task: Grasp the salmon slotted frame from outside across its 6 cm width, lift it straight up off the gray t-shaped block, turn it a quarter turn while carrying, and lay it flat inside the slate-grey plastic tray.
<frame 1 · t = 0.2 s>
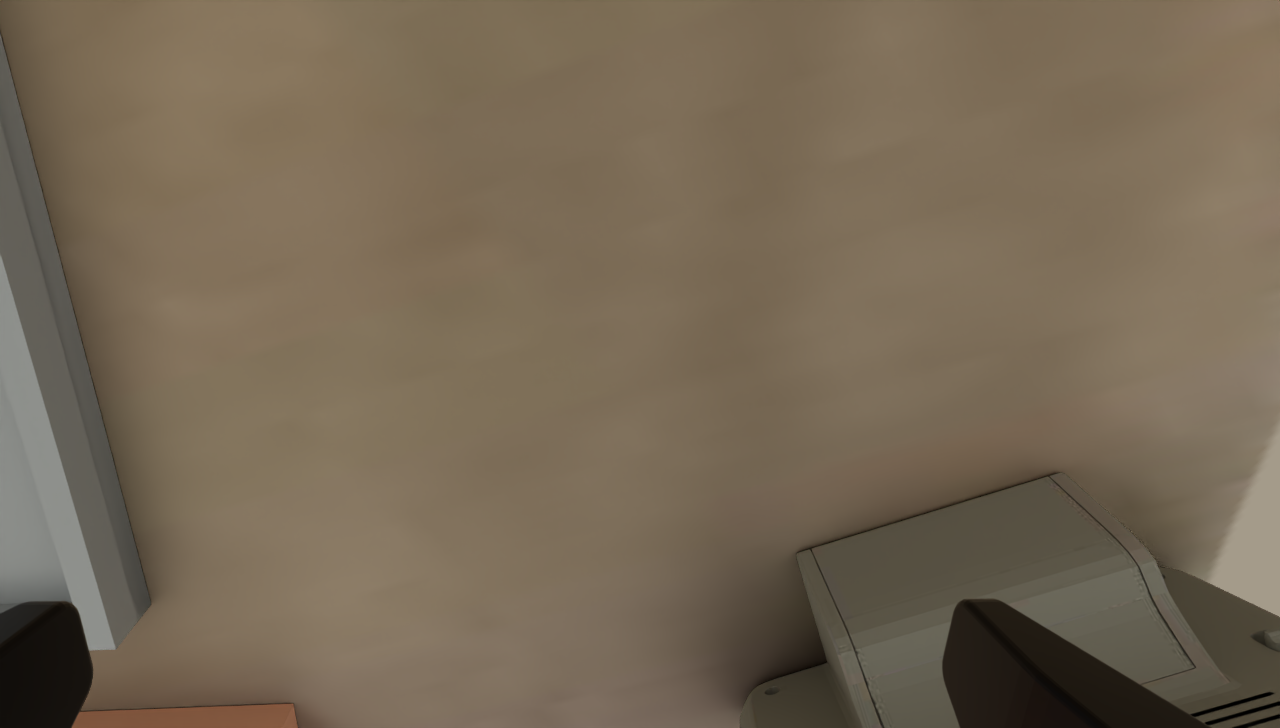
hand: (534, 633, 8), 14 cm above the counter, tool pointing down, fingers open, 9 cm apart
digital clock: (943, 604, 27), on the counter
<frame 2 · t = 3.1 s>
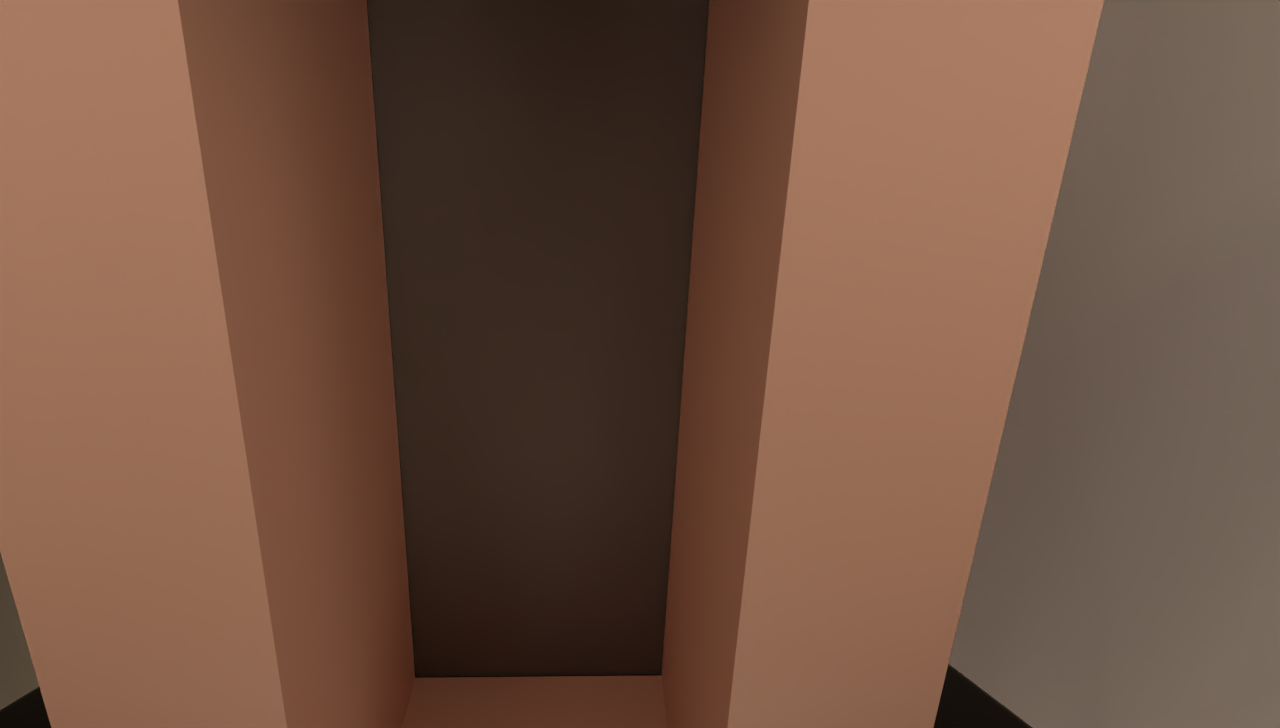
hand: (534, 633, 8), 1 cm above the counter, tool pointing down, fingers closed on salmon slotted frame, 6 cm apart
salmon slotted frame: (540, 124, 7), on the counter, touching gripper
when the fingers open (3 cm above the counter, at t = 7.7 s): salmon slotted frame stays where it is, resting on tray.
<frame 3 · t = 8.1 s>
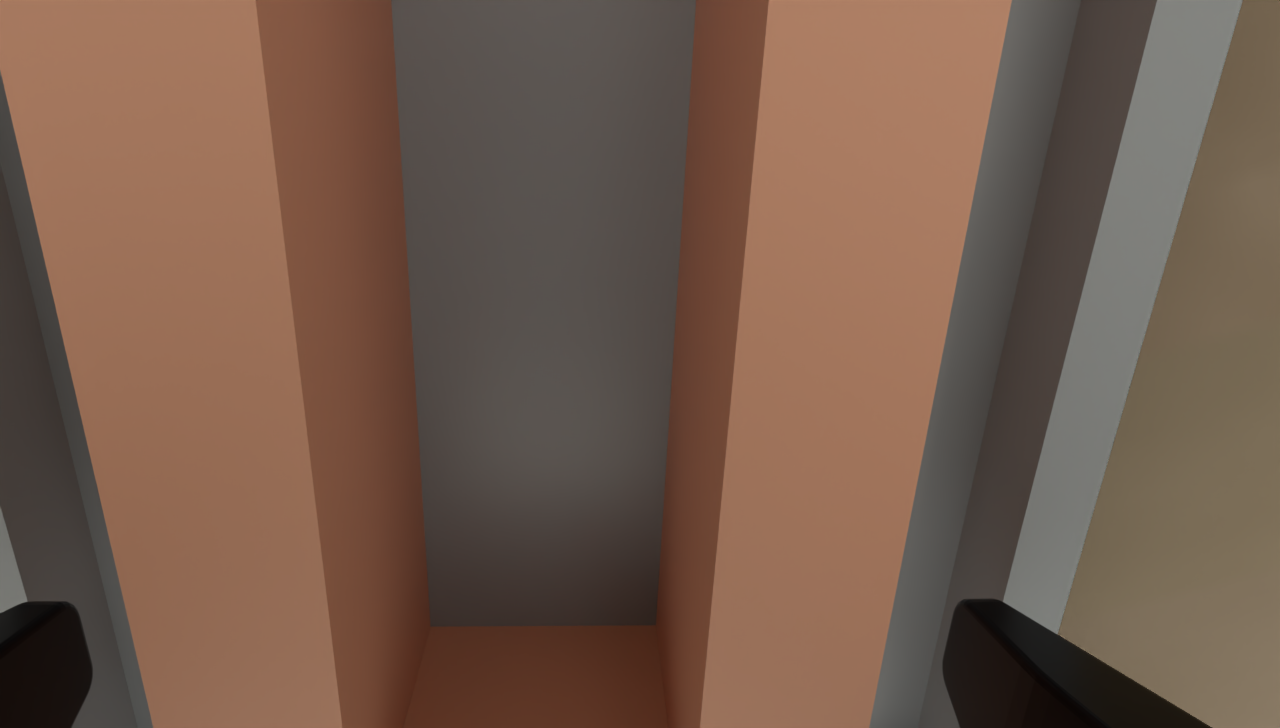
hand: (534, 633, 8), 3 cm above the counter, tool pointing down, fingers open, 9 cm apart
salmon slotted frame: (545, 120, 8), point 1 cm above the counter, touching tray
tray: (547, 106, 9), on the counter
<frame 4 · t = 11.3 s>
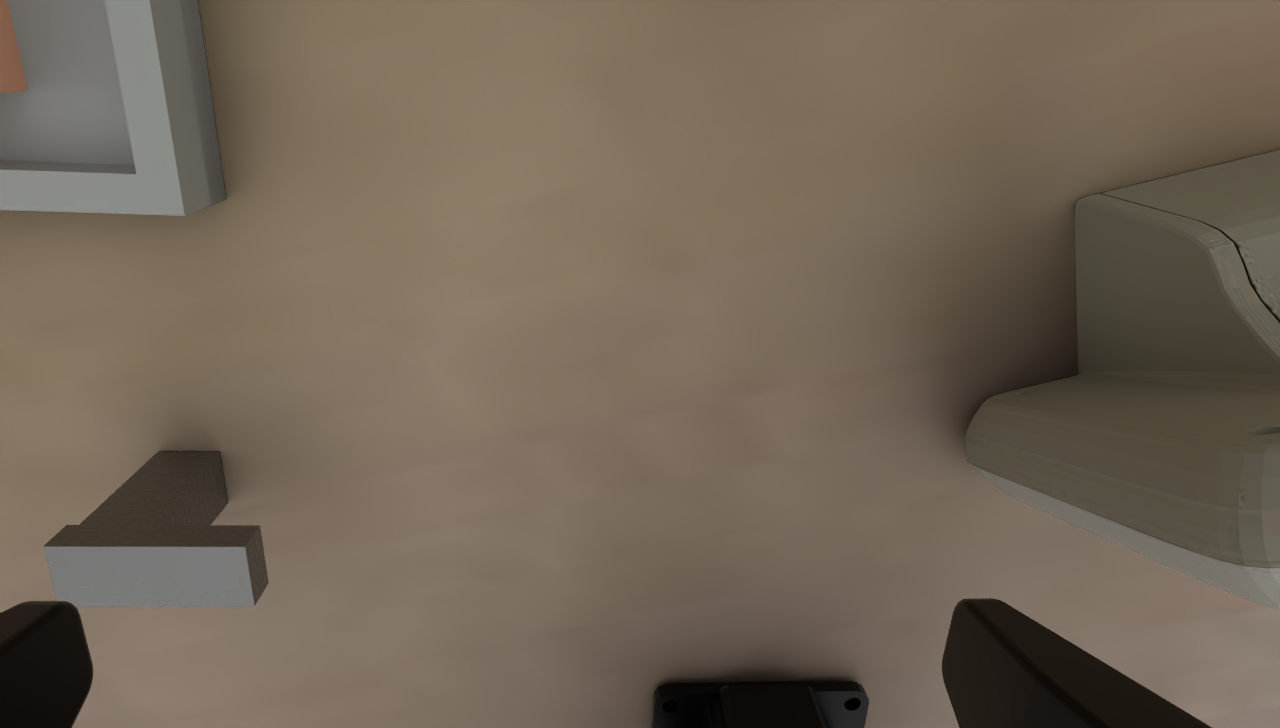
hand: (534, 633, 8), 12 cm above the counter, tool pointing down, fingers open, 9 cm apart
gray t-shaped block: (194, 477, 20), on the counter
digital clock: (1235, 309, 21), on the counter
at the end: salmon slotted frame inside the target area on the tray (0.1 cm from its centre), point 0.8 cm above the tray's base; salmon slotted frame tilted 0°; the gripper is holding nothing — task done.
